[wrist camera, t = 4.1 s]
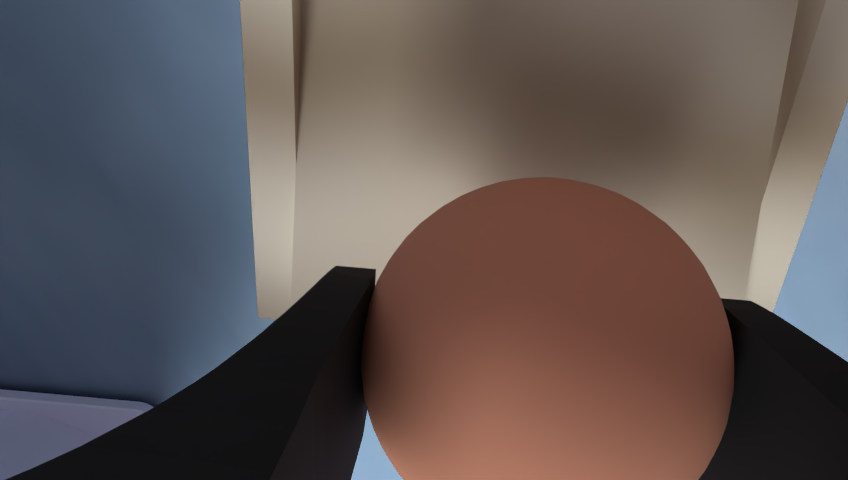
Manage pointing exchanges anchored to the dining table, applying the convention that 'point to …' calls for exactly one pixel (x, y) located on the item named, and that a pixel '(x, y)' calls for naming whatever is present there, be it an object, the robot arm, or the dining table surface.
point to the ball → (546, 342)
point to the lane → (537, 121)
